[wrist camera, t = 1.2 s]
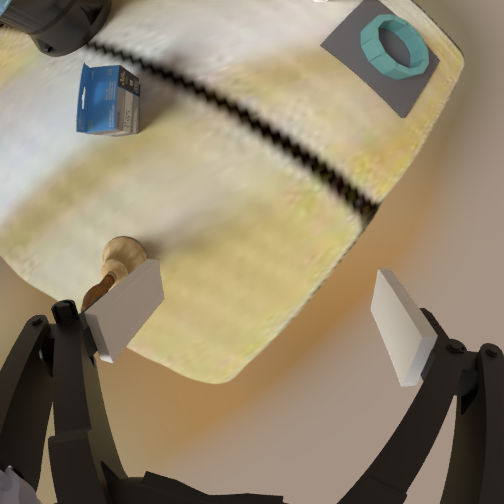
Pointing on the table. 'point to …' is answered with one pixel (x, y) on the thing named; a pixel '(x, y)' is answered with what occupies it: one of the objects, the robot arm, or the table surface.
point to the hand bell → (116, 266)
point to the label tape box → (108, 101)
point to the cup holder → (384, 54)
